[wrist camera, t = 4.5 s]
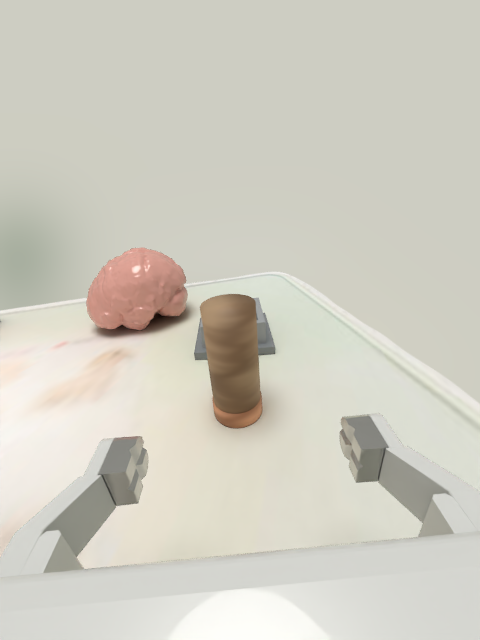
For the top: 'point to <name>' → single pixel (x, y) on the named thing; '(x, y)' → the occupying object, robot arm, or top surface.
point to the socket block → (263, 336)
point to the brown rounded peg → (233, 358)
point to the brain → (136, 290)
